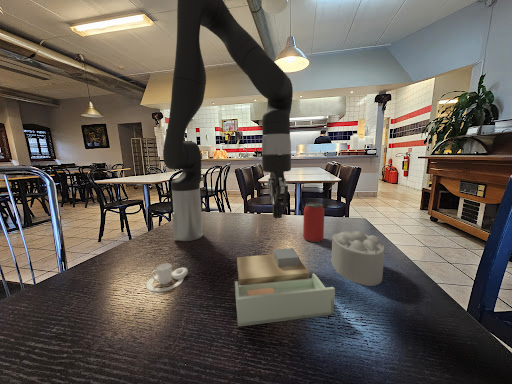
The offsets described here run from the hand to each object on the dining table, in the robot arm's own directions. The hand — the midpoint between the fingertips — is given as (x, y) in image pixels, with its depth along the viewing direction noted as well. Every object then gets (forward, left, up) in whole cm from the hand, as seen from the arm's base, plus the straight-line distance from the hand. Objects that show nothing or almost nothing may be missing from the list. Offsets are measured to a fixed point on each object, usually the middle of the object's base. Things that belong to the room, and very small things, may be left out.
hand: (277, 217), depth 59 cm
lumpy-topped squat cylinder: (+17, -11, -12) cm, 23 cm away
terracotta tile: (-8, -21, -9) cm, 24 cm away
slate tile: (0, -9, -8) cm, 12 cm away
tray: (-4, -20, -11) cm, 23 cm away
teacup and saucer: (-26, -9, -12) cm, 30 cm away
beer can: (+15, +10, -12) cm, 21 cm away
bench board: (-4, -10, -11) cm, 16 cm away
